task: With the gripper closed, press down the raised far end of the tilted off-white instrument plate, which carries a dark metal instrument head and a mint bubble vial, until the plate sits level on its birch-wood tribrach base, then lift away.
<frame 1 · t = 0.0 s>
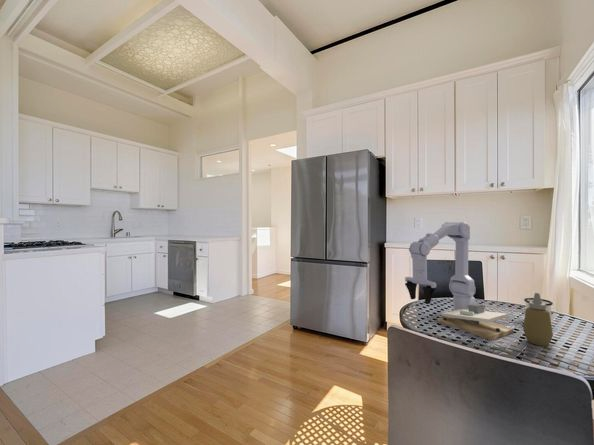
hand: (420, 301, 119), 10 cm above the table, tool pointing down, fingers open, 7 cm apart
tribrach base: (473, 326, 116), on the table
mug: (536, 322, 120), on the table
level plate: (472, 310, 116), point 7 cm above the table, hinge at 10.0°
squeeze bottle: (537, 343, 100), on the table
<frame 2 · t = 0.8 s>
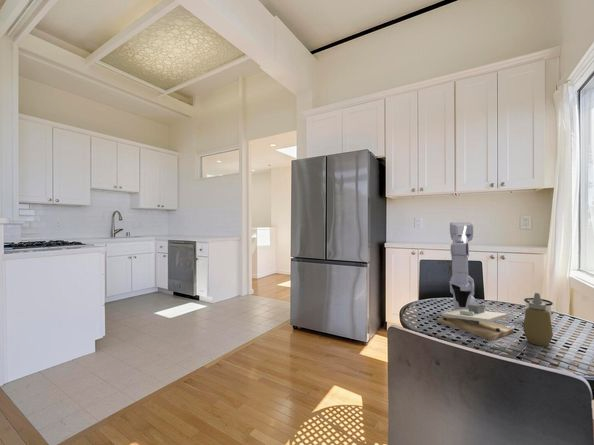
hand: (460, 304, 115), 10 cm above the table, tool pointing down, fingers open, 7 cm apart
nothing on the table moved.
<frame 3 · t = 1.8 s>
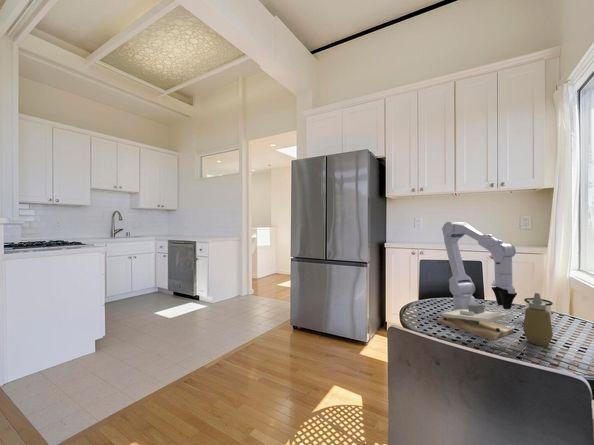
hand: (503, 307, 111), 9 cm above the table, tool pointing down, fingers open, 5 cm apart
nothing on the table moved.
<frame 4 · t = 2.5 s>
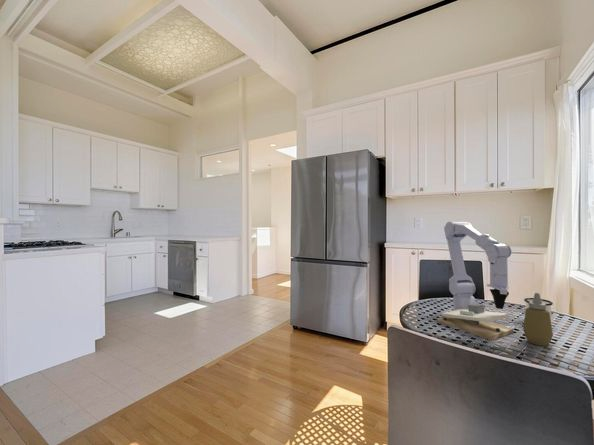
hand: (499, 308, 110), 9 cm above the table, tool pointing down, fingers closed
nothing on the table moved.
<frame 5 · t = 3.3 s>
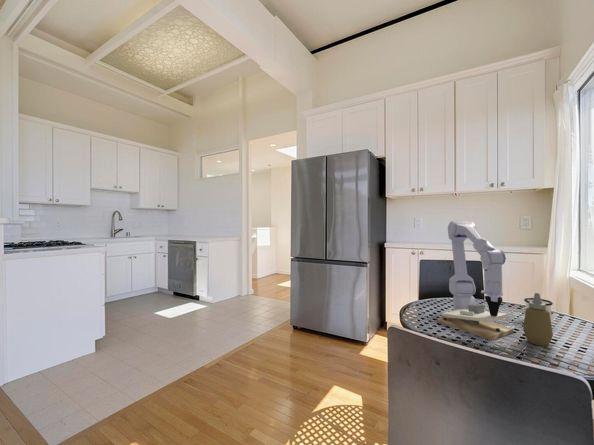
hand: (493, 315, 108), 7 cm above the table, tool pointing down, fingers closed, pressing on level plate
level plate: (472, 310, 116), point 7 cm above the table, hinge at 10.0°, touching gripper
everything else where it was.
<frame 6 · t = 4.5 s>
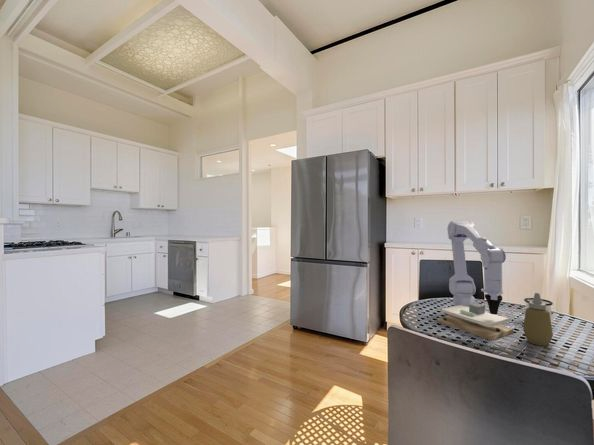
hand: (493, 313, 108), 8 cm above the table, tool pointing down, fingers closed
level plate: (473, 311, 116), point 7 cm above the table, hinge at -0.4°
everything else where it was.
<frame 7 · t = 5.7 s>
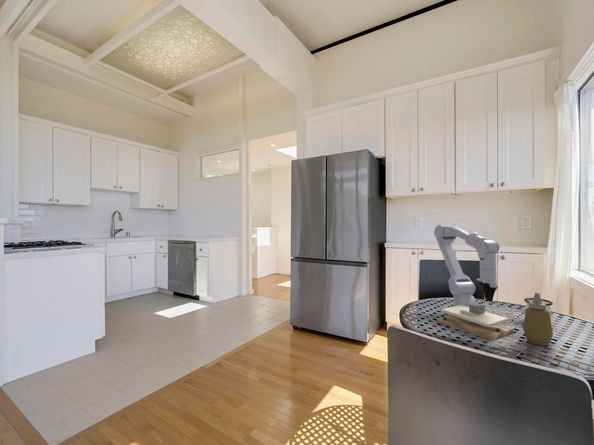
hand: (488, 301, 116), 10 cm above the table, tool pointing down, fingers closed
nothing on the table moved.
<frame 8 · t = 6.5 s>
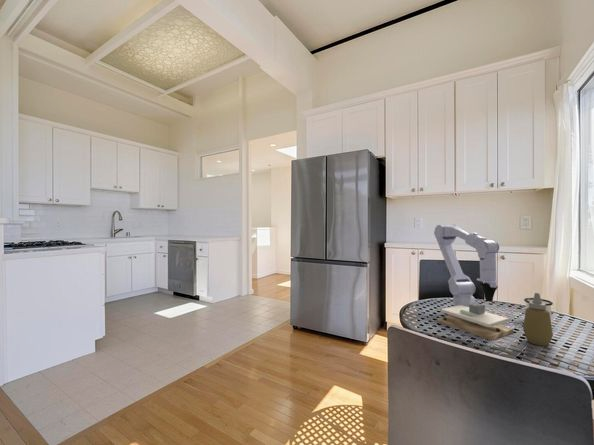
hand: (488, 301, 116), 10 cm above the table, tool pointing down, fingers closed
nothing on the table moved.
at the end: level plate at +0° (first picture: +10°) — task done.
